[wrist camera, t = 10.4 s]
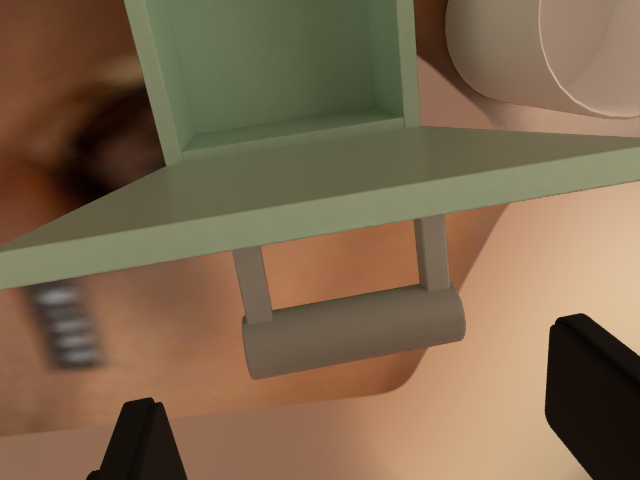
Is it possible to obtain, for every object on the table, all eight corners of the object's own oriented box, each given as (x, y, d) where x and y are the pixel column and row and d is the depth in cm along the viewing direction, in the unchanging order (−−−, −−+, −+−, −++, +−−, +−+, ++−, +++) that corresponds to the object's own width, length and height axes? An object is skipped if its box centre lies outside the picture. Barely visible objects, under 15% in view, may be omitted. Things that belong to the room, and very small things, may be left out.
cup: (615, -72, 33) (798, -139, 22) (579, 102, 37) (718, 120, 26) (454, -82, 31) (562, -161, 20) (435, 100, 36) (516, 118, 24)
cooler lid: (-21, 255, 9) (55, 470, 11) (679, 139, 10) (667, 349, 12) (164, 166, 27) (185, 254, 28) (422, 125, 28) (430, 212, 29)
